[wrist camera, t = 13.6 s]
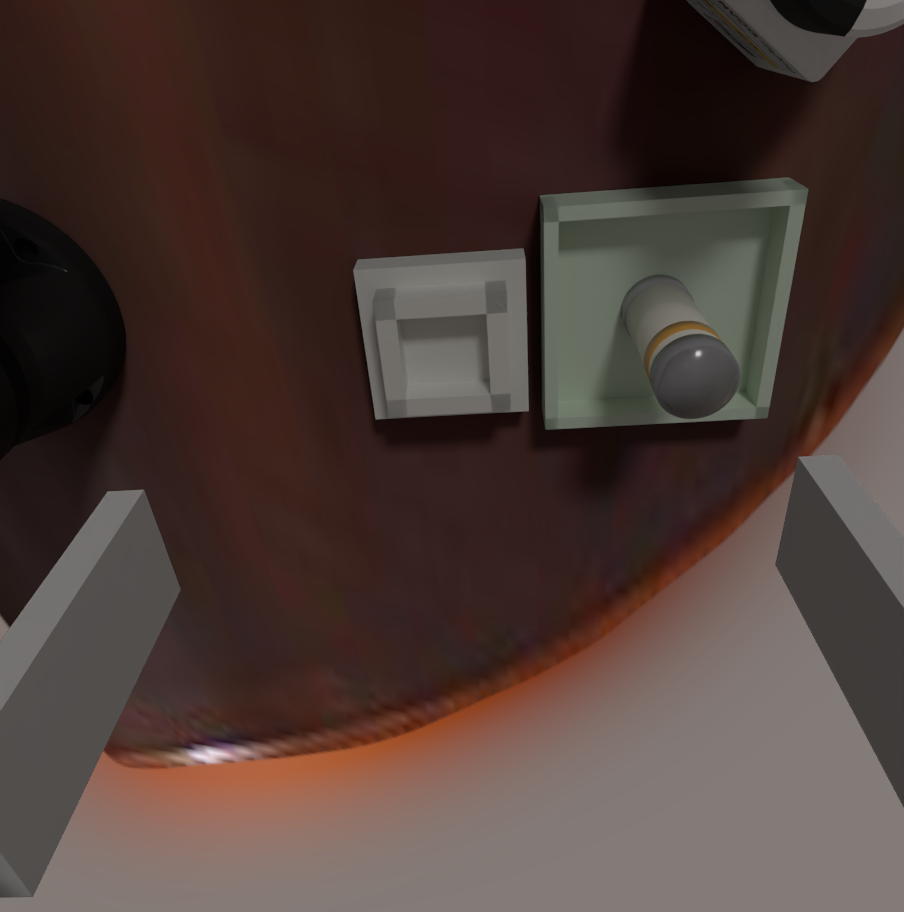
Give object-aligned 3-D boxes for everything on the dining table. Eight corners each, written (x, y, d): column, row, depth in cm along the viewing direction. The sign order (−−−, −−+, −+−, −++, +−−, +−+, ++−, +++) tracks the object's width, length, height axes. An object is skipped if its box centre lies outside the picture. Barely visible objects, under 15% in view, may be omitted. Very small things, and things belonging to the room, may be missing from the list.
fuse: (619, 341, 46) (651, 421, 38) (622, 276, 44) (657, 346, 36) (687, 337, 46) (734, 416, 38) (693, 272, 44) (745, 341, 35)
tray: (541, 408, 50) (545, 429, 47) (539, 195, 42) (543, 207, 40) (753, 397, 49) (767, 417, 46) (789, 177, 41) (808, 189, 39)
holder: (378, 404, 50) (372, 435, 46) (357, 259, 44) (348, 282, 41) (526, 396, 49) (530, 426, 46) (523, 248, 44) (527, 270, 40)
